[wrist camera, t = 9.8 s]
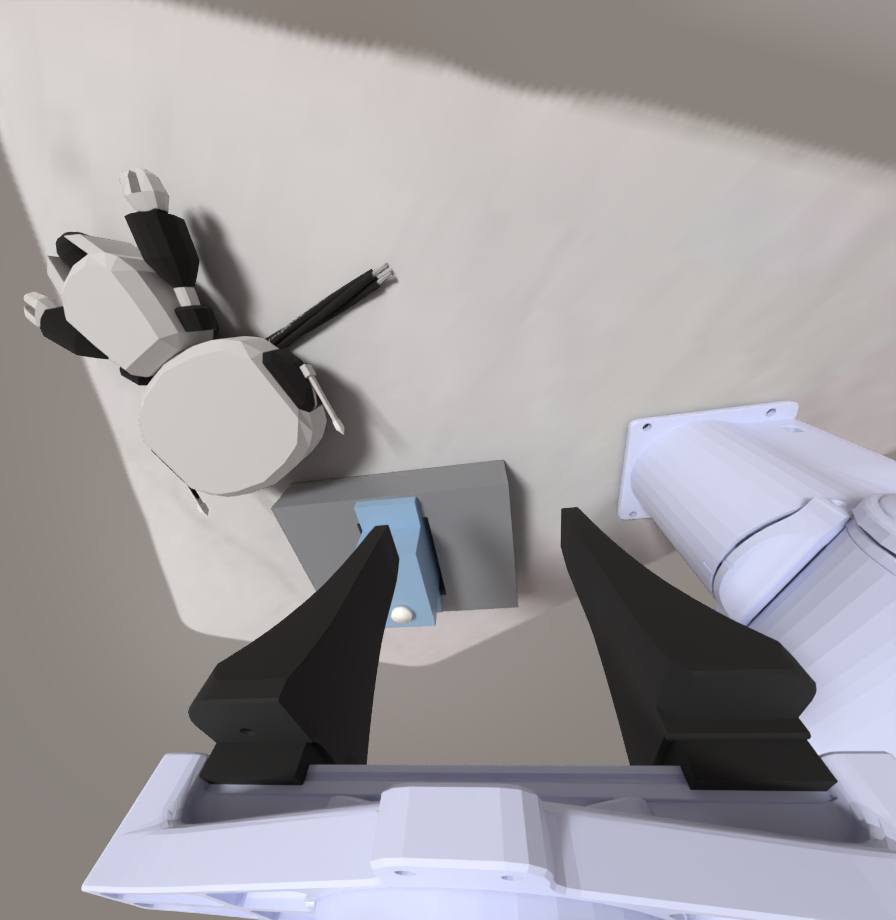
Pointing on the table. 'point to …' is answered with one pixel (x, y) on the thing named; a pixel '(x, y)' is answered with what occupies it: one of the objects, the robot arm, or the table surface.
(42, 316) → the robot toy
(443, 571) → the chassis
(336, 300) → the electrical cable
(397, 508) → the block
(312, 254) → the table surface
